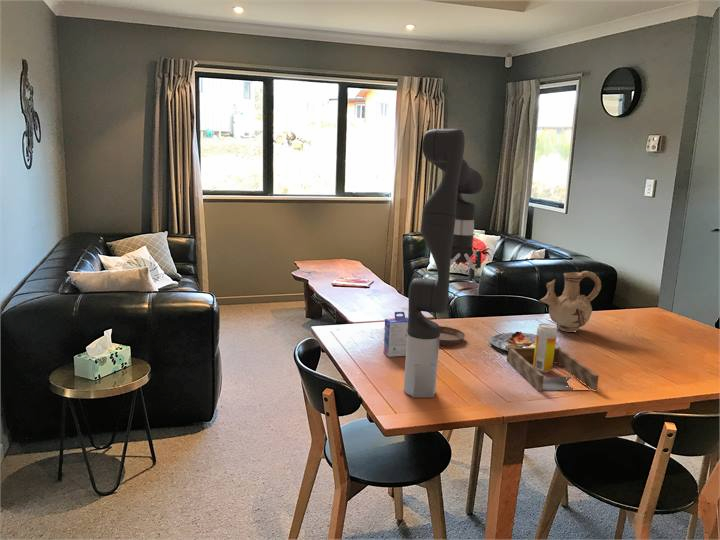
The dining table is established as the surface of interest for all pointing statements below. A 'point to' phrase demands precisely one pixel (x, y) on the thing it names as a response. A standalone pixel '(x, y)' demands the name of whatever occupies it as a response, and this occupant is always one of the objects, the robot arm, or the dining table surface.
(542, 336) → the beer can
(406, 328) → the ink cartridge box
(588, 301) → the ceramic vessel
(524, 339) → the food plate
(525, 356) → the bay
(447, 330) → the plant saucer
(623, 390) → the dining table surface
